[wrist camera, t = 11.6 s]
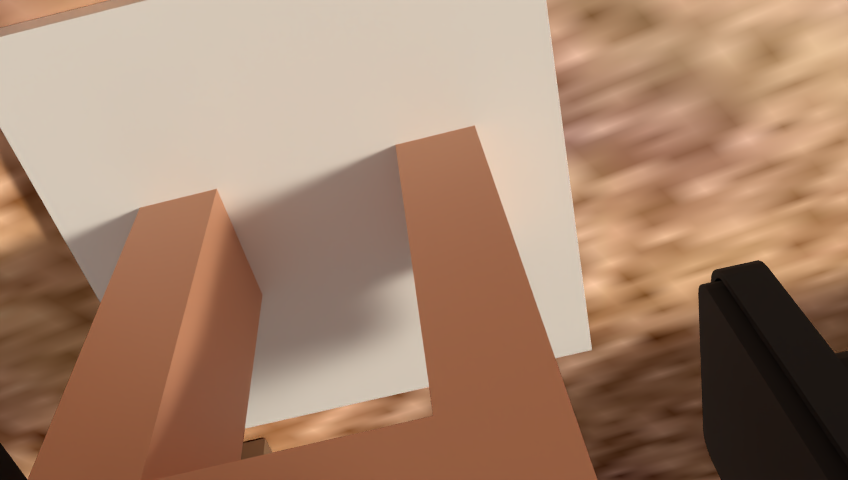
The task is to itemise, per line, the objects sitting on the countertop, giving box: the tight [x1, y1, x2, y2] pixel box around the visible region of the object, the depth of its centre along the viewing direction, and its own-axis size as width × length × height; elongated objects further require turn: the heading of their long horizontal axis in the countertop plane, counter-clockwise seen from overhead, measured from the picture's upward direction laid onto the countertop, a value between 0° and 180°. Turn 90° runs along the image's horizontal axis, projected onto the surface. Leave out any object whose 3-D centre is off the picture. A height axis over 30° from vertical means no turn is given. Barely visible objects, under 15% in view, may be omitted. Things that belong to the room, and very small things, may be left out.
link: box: [28, 125, 597, 480], centre depth 11 cm, size 6×2×8 cm, turn 103°
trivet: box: [0, 0, 592, 428], centre depth 15 cm, size 9×9×1 cm
